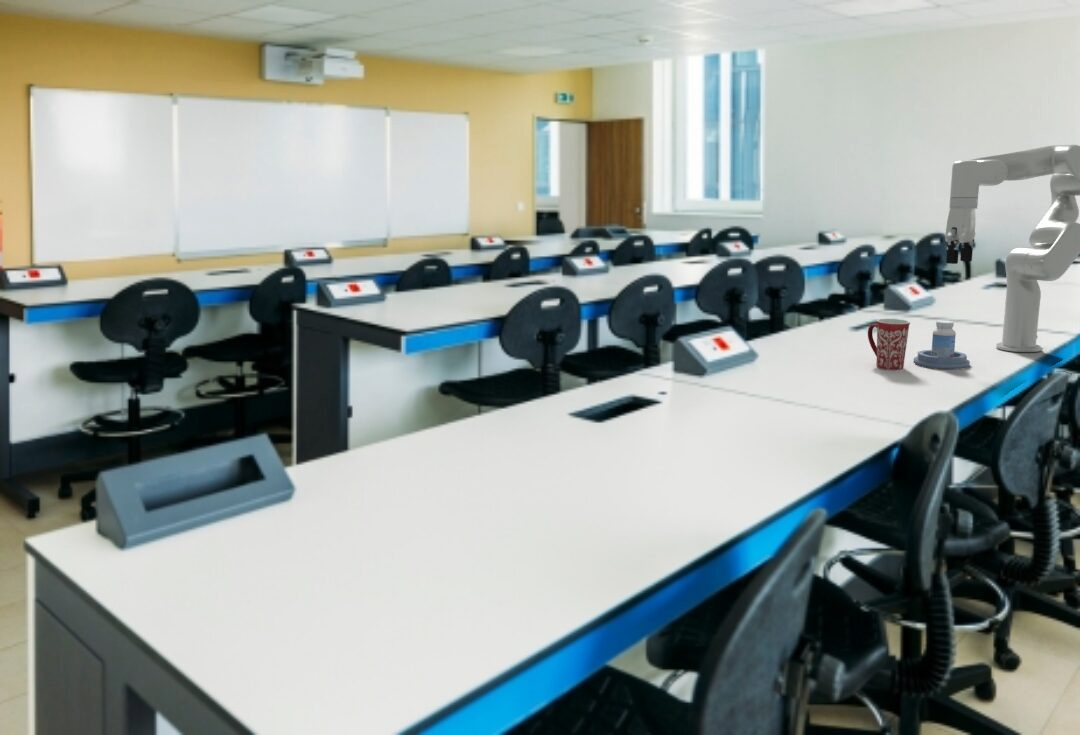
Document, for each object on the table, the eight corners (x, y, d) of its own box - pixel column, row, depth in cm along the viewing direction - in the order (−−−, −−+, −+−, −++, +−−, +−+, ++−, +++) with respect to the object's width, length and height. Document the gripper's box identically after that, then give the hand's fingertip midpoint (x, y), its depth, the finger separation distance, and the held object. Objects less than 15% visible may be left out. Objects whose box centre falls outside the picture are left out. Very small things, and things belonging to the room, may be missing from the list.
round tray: (927, 357, 284) (928, 347, 283) (978, 363, 273) (979, 353, 272) (904, 364, 274) (904, 354, 273) (956, 371, 263) (956, 361, 262)
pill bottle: (955, 362, 270) (958, 323, 267) (933, 361, 271) (935, 322, 269) (951, 358, 276) (954, 320, 273) (929, 357, 277) (931, 319, 274)
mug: (914, 368, 268) (917, 321, 265) (891, 372, 264) (894, 324, 261) (879, 361, 279) (882, 316, 276) (857, 364, 274) (859, 318, 272)
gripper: (963, 202, 284) (958, 259, 288) (937, 204, 273) (933, 263, 276) (988, 203, 279) (983, 261, 282) (963, 204, 267) (959, 265, 271)
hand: (959, 262), depth 279 cm, fingers open, 9 cm apart
